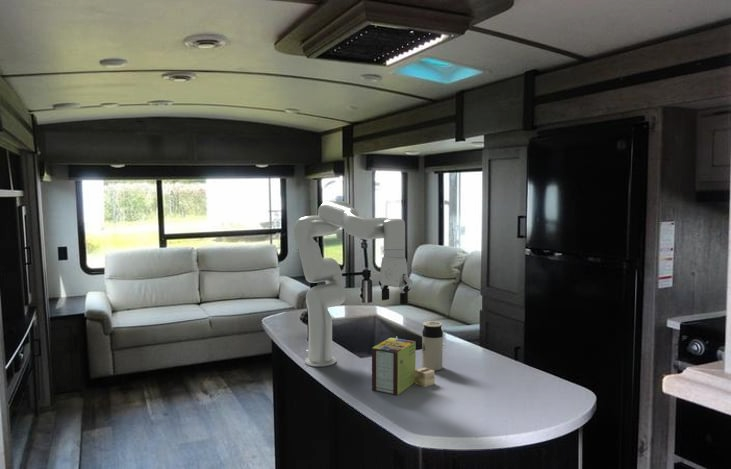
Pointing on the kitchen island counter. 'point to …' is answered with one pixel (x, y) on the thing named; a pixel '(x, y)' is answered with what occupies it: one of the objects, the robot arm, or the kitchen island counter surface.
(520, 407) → the kitchen island counter surface
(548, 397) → the kitchen island counter surface
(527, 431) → the kitchen island counter surface
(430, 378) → the slotted oak block
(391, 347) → the protein box
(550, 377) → the kitchen island counter surface
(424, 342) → the travel mug
